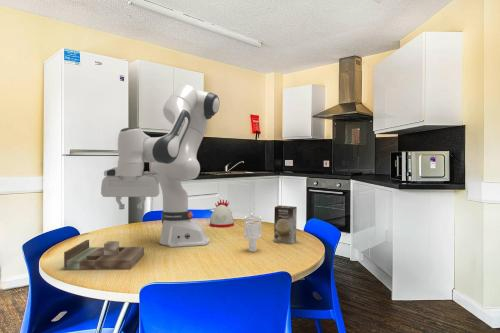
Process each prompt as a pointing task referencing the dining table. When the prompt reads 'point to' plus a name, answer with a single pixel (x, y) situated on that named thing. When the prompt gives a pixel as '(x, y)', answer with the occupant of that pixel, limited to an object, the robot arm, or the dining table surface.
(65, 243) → the dining table surface
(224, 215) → the kitchen timer
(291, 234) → the coffee box
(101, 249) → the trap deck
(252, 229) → the clear glass tall piece
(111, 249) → the cube
